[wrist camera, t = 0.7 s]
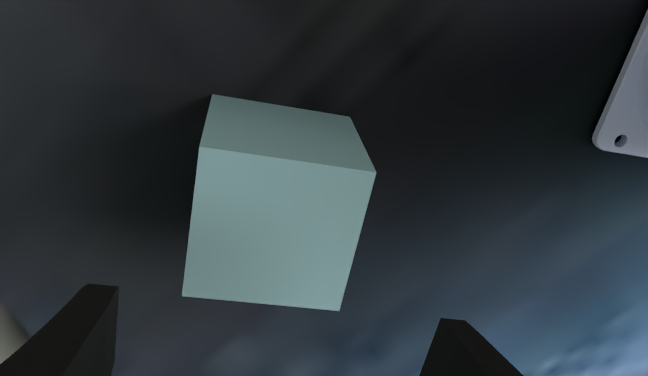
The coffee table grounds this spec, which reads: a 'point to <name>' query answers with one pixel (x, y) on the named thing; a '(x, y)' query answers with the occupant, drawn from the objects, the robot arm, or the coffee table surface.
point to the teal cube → (276, 205)
